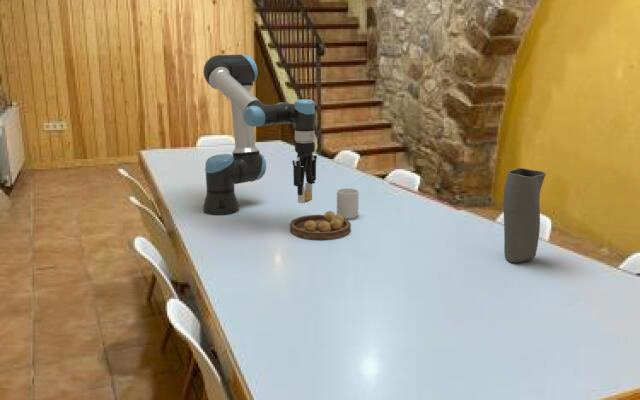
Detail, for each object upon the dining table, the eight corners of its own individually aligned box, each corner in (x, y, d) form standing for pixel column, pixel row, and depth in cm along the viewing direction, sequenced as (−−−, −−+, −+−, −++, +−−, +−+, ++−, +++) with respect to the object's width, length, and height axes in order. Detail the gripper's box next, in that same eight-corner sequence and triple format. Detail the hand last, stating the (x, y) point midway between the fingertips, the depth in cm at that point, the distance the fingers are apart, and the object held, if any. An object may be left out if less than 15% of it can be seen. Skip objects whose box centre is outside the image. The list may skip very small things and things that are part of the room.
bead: (297, 202, 225) (297, 191, 224) (304, 200, 229) (303, 188, 228) (307, 204, 223) (307, 192, 222) (313, 201, 227) (313, 190, 225)
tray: (278, 233, 222) (278, 226, 221) (311, 218, 241) (311, 211, 240) (330, 244, 210) (330, 237, 209) (360, 227, 229) (360, 220, 228)
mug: (360, 219, 239) (361, 193, 236) (340, 220, 237) (340, 194, 234) (351, 211, 251) (352, 186, 248) (332, 212, 248) (332, 187, 245)
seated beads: (301, 232, 219) (301, 221, 217) (327, 220, 234) (327, 209, 233) (328, 238, 213) (328, 226, 211) (353, 225, 228) (353, 213, 227)
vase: (517, 268, 189) (527, 178, 181) (490, 256, 199) (498, 170, 191) (544, 262, 194) (555, 174, 186) (517, 250, 205) (525, 166, 197)
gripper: (300, 145, 211) (300, 208, 217) (325, 139, 225) (325, 197, 231) (283, 143, 215) (283, 205, 221) (309, 137, 229) (309, 195, 235)
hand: (305, 201), depth 226 cm, fingers closed on bead, 4 cm apart
